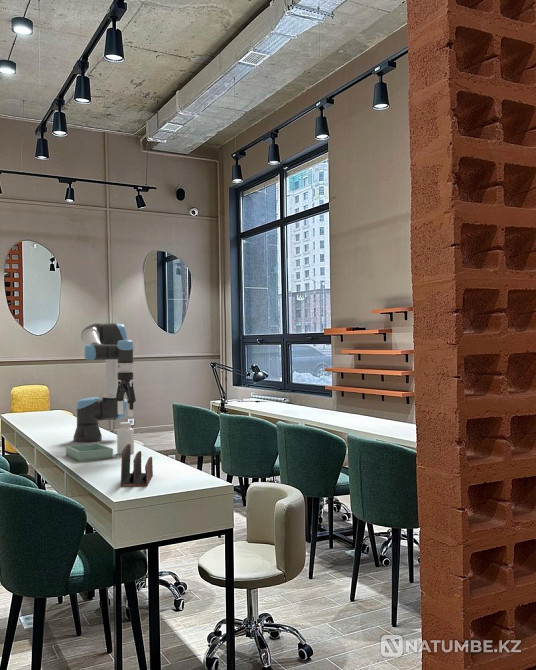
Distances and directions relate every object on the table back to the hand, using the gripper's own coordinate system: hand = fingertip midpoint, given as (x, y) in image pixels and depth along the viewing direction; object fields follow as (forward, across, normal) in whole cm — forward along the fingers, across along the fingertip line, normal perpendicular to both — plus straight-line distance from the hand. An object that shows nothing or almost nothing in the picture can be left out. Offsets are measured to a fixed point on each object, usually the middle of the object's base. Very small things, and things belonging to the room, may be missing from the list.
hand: (125, 415), depth 317 cm
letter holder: (+20, +62, -19) cm, 68 cm away
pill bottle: (+19, 0, 0) cm, 19 cm away
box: (+18, 0, -18) cm, 26 cm away
